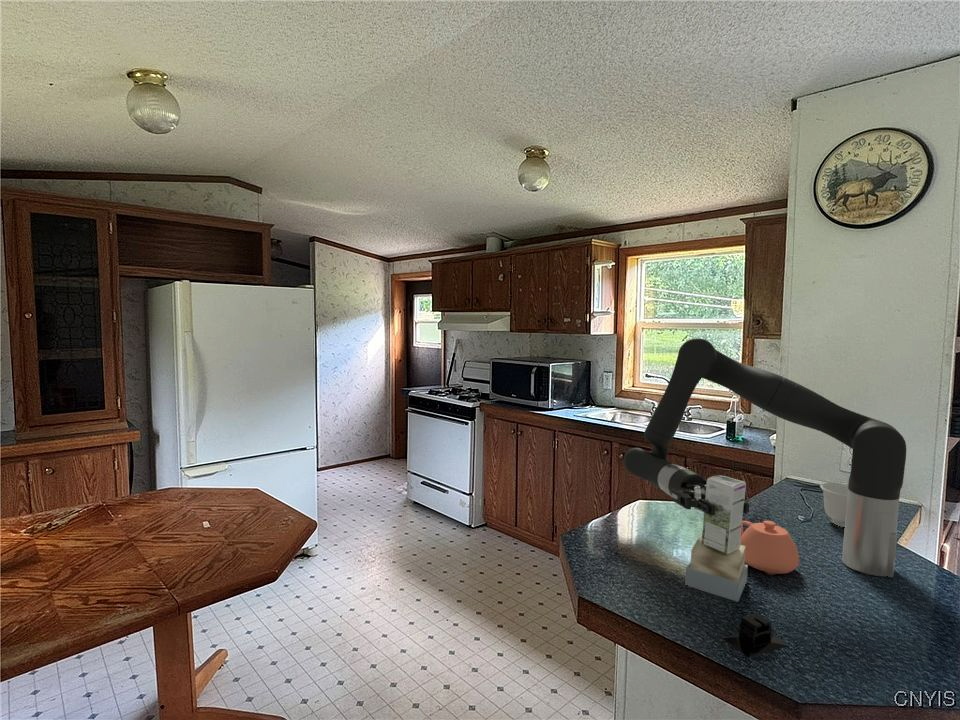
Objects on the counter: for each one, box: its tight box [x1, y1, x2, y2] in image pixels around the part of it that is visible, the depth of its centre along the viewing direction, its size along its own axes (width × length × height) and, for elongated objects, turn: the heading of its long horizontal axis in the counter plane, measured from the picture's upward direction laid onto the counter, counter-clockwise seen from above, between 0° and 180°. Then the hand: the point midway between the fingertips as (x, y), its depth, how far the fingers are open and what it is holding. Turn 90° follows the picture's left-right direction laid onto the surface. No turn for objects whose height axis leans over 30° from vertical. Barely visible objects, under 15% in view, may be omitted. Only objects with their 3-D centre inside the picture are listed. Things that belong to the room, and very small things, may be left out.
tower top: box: [690, 534, 746, 582], centre depth 107 cm, size 9×9×4 cm
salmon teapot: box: [740, 520, 800, 576], centre depth 116 cm, size 12×14×10 cm
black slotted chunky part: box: [722, 612, 790, 658], centre depth 87 cm, size 12×7×5 cm, turn 111°
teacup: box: [819, 482, 848, 528], centre depth 142 cm, size 12×15×10 cm
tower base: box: [684, 561, 749, 602], centre depth 107 cm, size 10×10×4 cm
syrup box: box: [701, 474, 747, 554], centre depth 106 cm, size 6×6×14 cm
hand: (730, 509), depth 104 cm, fingers open, 7 cm apart
